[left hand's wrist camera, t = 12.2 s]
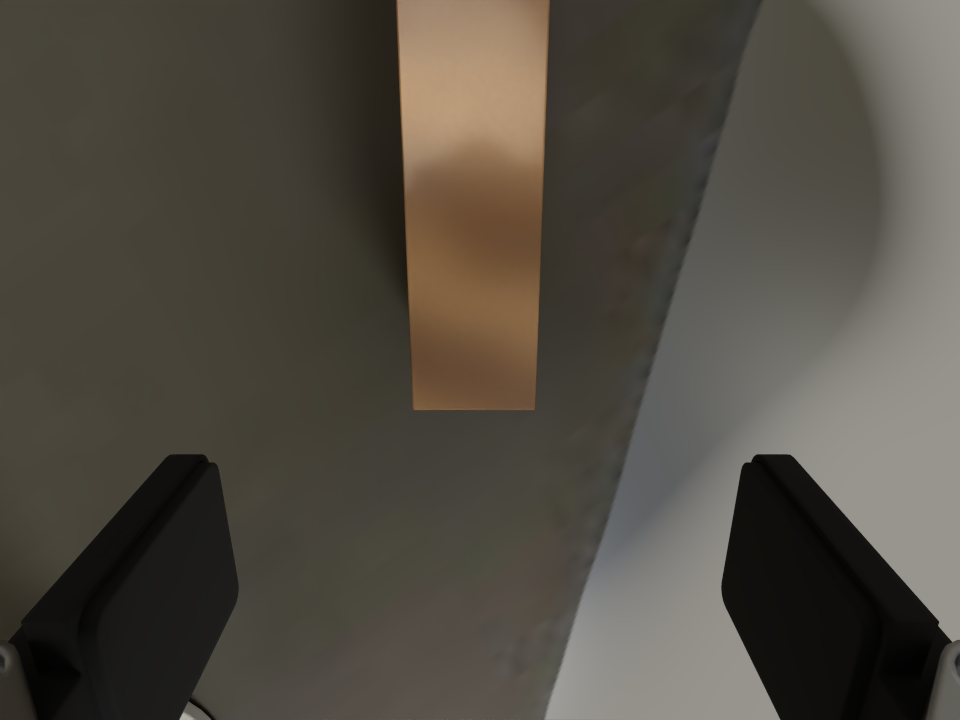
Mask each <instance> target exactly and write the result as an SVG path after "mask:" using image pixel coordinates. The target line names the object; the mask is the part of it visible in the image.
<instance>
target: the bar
mask: <svg viewBox="0 0 960 720" xmlns="http://www.w3.org/2000/svg"><path fill="white" fill-rule="evenodd" d="M549 13H550V0H396V20H397V44H398V67H399V91H400V115H401V139H402V162H403V186H404V210H405V233H406V257H407V281H408V305H409V328H410V352H411V376H412V400H413V409H414V410H535V400H536V373H537V345H538V317H539V290H540V262H541V234H542V207H543V179H544V151H545V124H546V96H547V68H548V41H549Z"/></svg>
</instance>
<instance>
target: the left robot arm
mask: <svg viewBox="0 0 960 720" xmlns="http://www.w3.org/2000/svg"><path fill="white" fill-rule="evenodd" d="M238 588H239V586H238V578H237V572H236V567H235V561H234V555H233V549H232V543H231V538H230V532H229V526H228V520H227V515H226V509H225V503H224V497H223V492H222V486H221V480H220V474H219V469H218V466H217V465H216V464H215V463H209V461H208V459H207V457H206V456H205V455H203V454H173V455H169V456H168V457H166V458H165V459H164V461H163V462H162V463H161V464H160V465H159V466H158V467H157V468H156V470H155V471H154V472H153V473H152V474H151V475H150V476H149V477H148V479H147V480H146V481H145V482H144V483H143V484H142V485H141V487H140V488H139V489H138V490H137V491H136V492H135V493H134V494H133V496H132V497H131V498H130V499H129V500H128V501H127V502H126V503H125V505H124V506H123V507H122V508H121V509H120V510H119V511H118V512H117V514H116V515H115V516H114V517H113V518H112V519H111V520H110V522H109V523H108V524H107V525H106V526H105V527H104V528H103V529H102V531H101V532H100V533H99V534H98V535H97V536H96V537H95V538H94V540H93V541H92V542H91V543H90V544H89V545H88V546H87V548H86V549H85V550H84V551H83V552H82V553H81V554H80V555H79V557H78V558H77V559H76V560H75V561H74V562H73V563H72V564H71V566H70V567H69V568H68V569H67V570H66V571H65V572H64V573H63V575H62V576H61V577H60V578H59V579H58V580H57V581H56V583H55V584H54V585H53V586H52V587H51V588H50V589H49V590H48V592H47V593H46V594H45V595H44V596H43V597H42V598H41V599H40V601H39V602H38V603H37V604H36V605H35V606H34V607H33V609H32V610H31V611H30V612H29V613H28V614H27V615H26V616H25V618H24V619H23V620H22V621H21V624H22V626H21V628H20V629H19V630H18V631H17V632H16V633H15V634H14V636H13V637H12V638H11V639H10V640H9V641H8V642H6V641H4V640H0V720H211V719H210V718H209V717H208V716H207V715H206V714H205V713H204V712H203V711H202V710H201V709H199V708H198V707H196V706H195V705H193V704H192V703H190V702H189V699H190V697H191V695H192V693H193V691H194V689H195V687H196V685H197V683H198V681H199V679H200V677H201V674H202V672H203V670H204V668H205V666H206V664H207V662H208V660H209V658H210V656H211V654H212V652H213V650H214V648H215V646H216V644H217V642H218V640H219V638H220V636H221V633H222V631H223V629H224V627H225V625H226V623H227V621H228V619H229V617H230V615H231V613H232V611H233V609H234V607H235V604H236V602H237V597H238ZM721 588H722V598H723V601H724V604H725V607H726V609H727V611H728V613H729V615H730V617H731V619H732V621H733V623H734V625H735V627H736V629H737V631H738V633H739V636H740V637H741V640H742V642H743V644H744V646H745V648H746V650H747V652H748V654H749V656H750V658H751V660H752V662H753V664H754V666H755V668H756V670H757V672H758V674H759V676H760V679H761V681H762V683H763V685H764V687H765V689H766V691H767V693H768V695H769V697H770V699H771V701H772V703H773V705H774V707H775V709H776V711H777V713H778V716H779V718H780V720H960V640H956V641H954V642H952V641H951V640H950V639H949V638H948V637H947V636H946V634H945V633H944V632H943V631H942V630H941V629H940V628H939V626H938V624H939V621H938V620H937V619H936V618H935V616H934V615H933V614H932V613H931V612H930V611H929V610H928V609H927V607H926V606H925V605H924V604H923V603H922V602H921V601H920V600H919V598H918V597H917V596H916V595H915V594H914V593H913V592H912V590H911V589H910V588H909V587H908V586H907V585H906V584H905V583H904V581H903V580H902V579H901V578H900V577H899V576H898V575H897V574H896V572H895V571H894V570H893V569H892V568H891V567H890V566H889V564H888V563H887V562H886V561H885V560H884V559H883V558H882V557H881V555H880V554H879V553H878V552H877V551H876V550H875V549H874V548H873V546H872V545H871V544H870V543H869V542H868V541H867V540H866V539H865V537H864V536H863V535H862V534H861V533H860V532H859V531H858V530H857V528H856V527H855V526H854V525H853V524H852V523H851V522H850V520H849V519H848V518H847V517H846V516H845V515H844V514H843V513H842V511H841V510H840V509H839V508H838V507H837V506H836V505H835V504H834V502H833V501H832V500H831V499H830V498H829V497H828V496H827V494H826V493H825V492H824V491H823V490H822V489H821V488H820V487H819V485H818V484H817V483H816V482H815V481H814V480H813V479H812V478H811V476H810V475H809V474H808V473H807V472H806V471H805V470H804V468H803V467H802V466H801V465H800V464H799V463H798V462H797V461H796V459H795V458H794V457H792V456H791V455H787V454H757V455H755V456H754V457H753V459H752V461H751V463H745V464H744V465H743V466H742V469H741V474H740V480H739V486H738V492H737V497H736V503H735V509H734V515H733V520H732V526H731V532H730V538H729V543H728V549H727V555H726V561H725V567H724V572H723V578H722V586H721Z"/></svg>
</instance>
